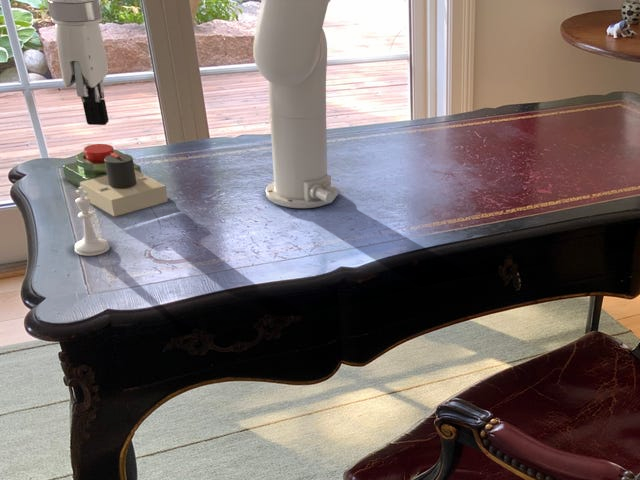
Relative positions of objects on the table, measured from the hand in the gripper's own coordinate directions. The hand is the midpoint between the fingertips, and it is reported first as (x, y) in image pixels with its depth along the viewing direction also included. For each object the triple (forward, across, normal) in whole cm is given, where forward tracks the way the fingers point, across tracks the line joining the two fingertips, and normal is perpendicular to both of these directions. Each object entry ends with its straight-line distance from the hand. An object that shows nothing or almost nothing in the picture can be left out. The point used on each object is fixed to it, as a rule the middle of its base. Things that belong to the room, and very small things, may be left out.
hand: (98, 123), depth 142 cm
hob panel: (+11, +9, +5) cm, 15 cm away
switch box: (+10, 0, -1) cm, 10 cm away
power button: (+6, 0, -1) cm, 6 cm away
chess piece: (+11, +28, +5) cm, 30 cm away
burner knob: (+8, +9, +5) cm, 13 cm away
